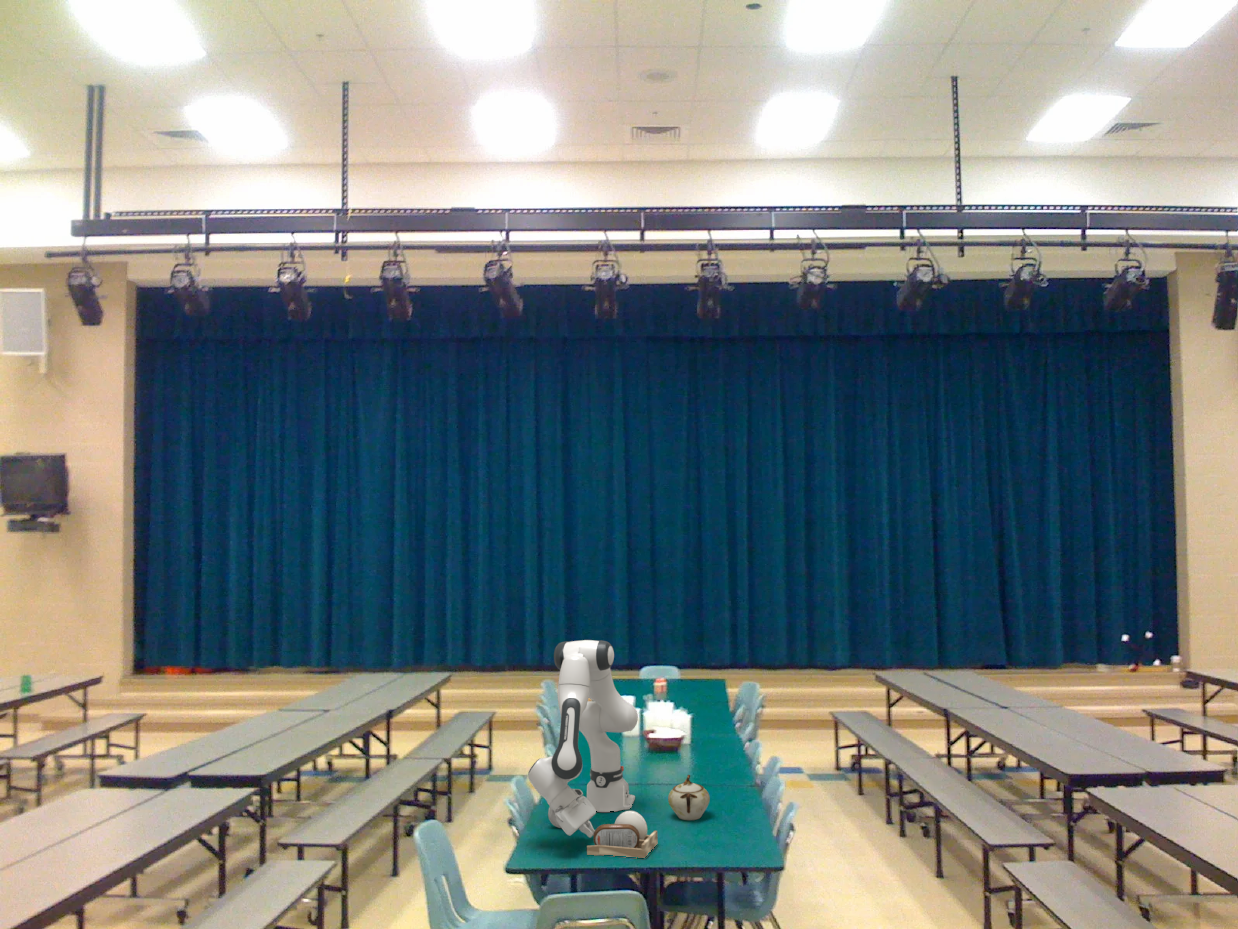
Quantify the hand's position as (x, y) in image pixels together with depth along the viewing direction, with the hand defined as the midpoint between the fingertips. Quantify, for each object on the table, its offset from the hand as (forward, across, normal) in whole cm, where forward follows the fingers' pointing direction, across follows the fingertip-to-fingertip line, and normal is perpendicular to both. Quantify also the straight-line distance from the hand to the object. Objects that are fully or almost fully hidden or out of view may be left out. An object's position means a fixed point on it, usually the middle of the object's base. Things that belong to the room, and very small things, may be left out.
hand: (593, 835), depth 311 cm
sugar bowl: (+18, +41, -12) cm, 47 cm away
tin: (+9, 0, -2) cm, 9 cm away
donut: (-10, +18, +16) cm, 26 cm away
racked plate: (+11, +7, -4) cm, 13 cm away
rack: (+10, +2, -3) cm, 11 cm away
